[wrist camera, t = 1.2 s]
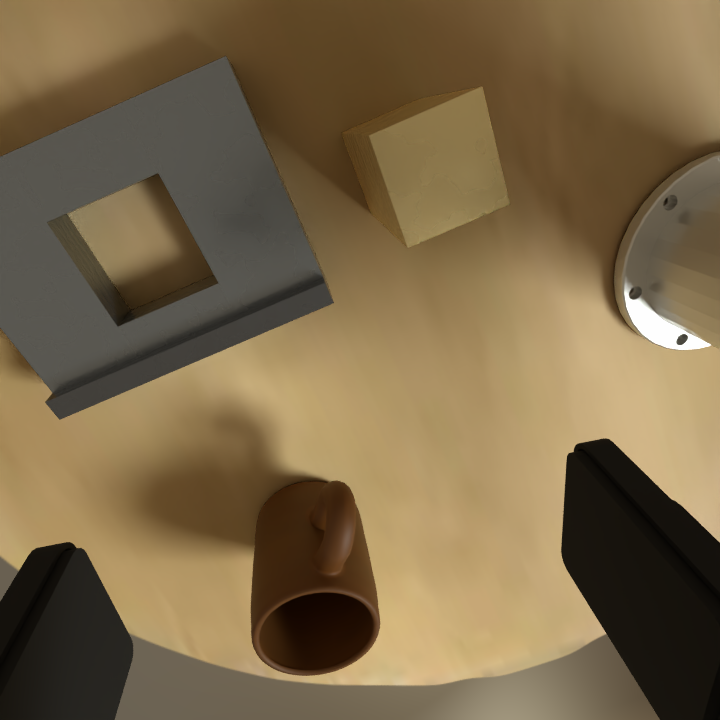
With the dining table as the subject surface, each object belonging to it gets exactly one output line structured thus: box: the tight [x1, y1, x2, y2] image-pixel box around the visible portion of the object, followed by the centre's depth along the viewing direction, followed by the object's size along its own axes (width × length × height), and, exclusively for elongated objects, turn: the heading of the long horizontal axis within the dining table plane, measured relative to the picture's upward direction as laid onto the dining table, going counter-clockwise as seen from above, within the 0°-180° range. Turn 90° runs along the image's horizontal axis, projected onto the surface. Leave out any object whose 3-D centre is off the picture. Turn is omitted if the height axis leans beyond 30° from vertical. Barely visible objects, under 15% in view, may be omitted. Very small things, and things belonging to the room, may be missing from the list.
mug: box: [251, 481, 380, 676], centre depth 31 cm, size 12×8×9 cm, turn 167°
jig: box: [0, 56, 334, 420], centre depth 25 cm, size 16×12×4 cm
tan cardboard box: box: [341, 86, 510, 248], centre depth 23 cm, size 4×4×9 cm
